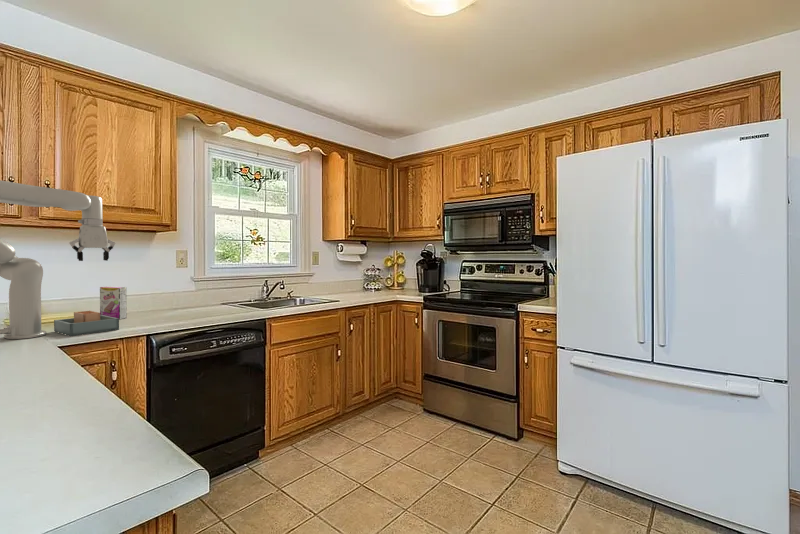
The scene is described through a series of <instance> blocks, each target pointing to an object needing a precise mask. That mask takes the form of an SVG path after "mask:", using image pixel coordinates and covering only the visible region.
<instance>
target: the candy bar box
mask: <svg viewBox="0 0 800 534" xmlns="http://www.w3.org/2000/svg"><path fill="white" fill-rule="evenodd" d="M127 311H128V310H127V287H126V286H111V285H109V286H100V287H99V313H100V315H105V316H109V317H114V318H119V321H121V320H124V319H127V315H128V314H127Z"/></svg>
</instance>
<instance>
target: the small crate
mask: <svg viewBox="0 0 800 534" xmlns="http://www.w3.org/2000/svg"><path fill="white" fill-rule="evenodd" d="M73 318H74V323H81V322H90V321H98V320H100V311H99V312H97V311H94V310H83V311H82V310H81V311H74V312H73Z"/></svg>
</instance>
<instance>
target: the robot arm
mask: <svg viewBox="0 0 800 534" xmlns="http://www.w3.org/2000/svg"><path fill="white" fill-rule="evenodd" d="M0 204H10V205H17V206H24V207H35V208H44V207H45V208H62V209H63V210H65V211H69V212H73V211H74V212H75V211H81V219H78V220H77V222H78V224H81V225H80V226H79V232H78V238H77V239H73V240H71V241H69V242H68V245H70V247H72V249H73V250H74V251H75V252H76V259H77V260H78V261H79V262H83V261H84V256H83V255H84V253H83V250H85V248H86V249H87V248H88V249H90V248H91V249H102V250H103V252H102V255H103V261H108V260H109V259H110V252H111V251H112V250H113V249H114V247H115V244H116V243H115V242H114V241H113V240H110V239H108V234H107V229H106V226H104V223H103V221H104V220H103V218H104V217H103V199H102V197H100V196H99V195H98V196H97V195H87V194H85V193H83V192H79V191H74V190H67V189H61V188H53V187H46V186H37V185H31V184H25V183H18V182H13V181H7V180H0ZM76 244H78V247H77V245H76ZM108 245H109V246H108ZM0 277H1V279H4V280H7V281H10V283H9V289H8V309H9V310H8V311H9V312H8V314H9V315H8V316H9V321H8V322H9V325H6V327H4V328H0V335H4V337H3V338H4V339H7V340H20V339H21V340H22V339H24V340H25V339H30V338H31V339H33V338H38V337H42V336H43V337H44V336H46V335H47V331H46V330H43V329H42V281H43V277H44V268H43V266H42V263H40V262H39V261H37V260H36V259H33V258H30V257H18V256H16V250H15V248H14V247H13V246H12V244H10V243H9V242H7V241H6V240H4V239H2V237H0Z"/></svg>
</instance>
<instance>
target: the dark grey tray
mask: <svg viewBox="0 0 800 534" xmlns="http://www.w3.org/2000/svg"><path fill="white" fill-rule="evenodd" d="M53 325H54V327H53V332H54V331H55V332H54V333H57V332H59V333H58V334H60V333H63V334H62V335H64V334H66V335H65V336H67V335H69V336H68V337H75V336H76V337H77V336H82V334H83V335H89V334H97V333H98V334H99V333H104V332H105V333H106V332H110V331H111V332H112V331H119V330H120V320H119V318H114V317H109V316H105V315H100V320H98V321H90V322H81V323H74V317H72V318H62V319H61V318H60V319H54V320H53Z"/></svg>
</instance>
